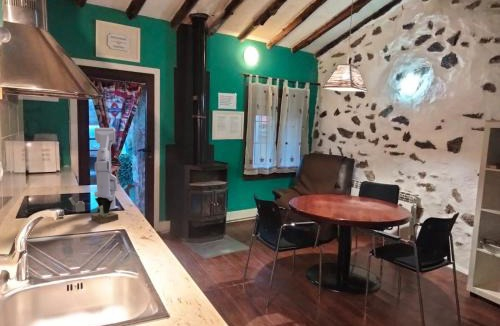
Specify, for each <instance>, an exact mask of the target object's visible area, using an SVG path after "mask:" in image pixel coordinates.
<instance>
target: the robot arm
mask: <svg viewBox="0 0 500 326" xmlns="http://www.w3.org/2000/svg"><path fill="white" fill-rule="evenodd" d="M94 139H95V141H96V144H99V149H97V151H96V161H95V162H94V171H95V177H96V188H97V189H96V191H94V196H95V197H96V198H94V200H95V202H96V203H97V206H96V208H97V209H99V210H100V206H101V205H102V206H103V211H104V213H109V211H111V210H115V209H119V208H120V207H119V206H117V205H116V192H117V191H118V178H117V176H115V175H114V174H112V151H111V149H112V148H111V147H112V145H113V144H115V143H116V128H115V127H95V128H94Z"/></svg>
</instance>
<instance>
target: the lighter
mask: <svg viewBox="0 0 500 326" xmlns="http://www.w3.org/2000/svg"><path fill="white" fill-rule="evenodd" d="M68 200H69V201H70V203H71V204H72V205H73V206H75V212H76V213H80V212H85V211H86V207H85V206H86V205H85V202H84V201H83V200H82V201H81V200H79V201H77V203H76V202H75V200H74V198H73V197H72V196H71V197H68Z"/></svg>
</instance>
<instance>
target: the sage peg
mask: <svg viewBox="0 0 500 326" xmlns="http://www.w3.org/2000/svg"><path fill="white" fill-rule="evenodd" d="M99 213H100V216H107V215H108V213H104V211H103V206H102V205H101V206H100V209H99Z"/></svg>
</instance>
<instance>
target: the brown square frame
mask: <svg viewBox="0 0 500 326" xmlns="http://www.w3.org/2000/svg"><path fill="white" fill-rule="evenodd" d="M90 216H91V217H90V219H91V221H93V222H95V223H98V224H100V225H102V224H105V223H108V222H113V221H117V220H119V214H118V213H115V212H113V211H111V210H109V213H108V215H107V216H100V212H98V213H93V214H91V215H90Z"/></svg>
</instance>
